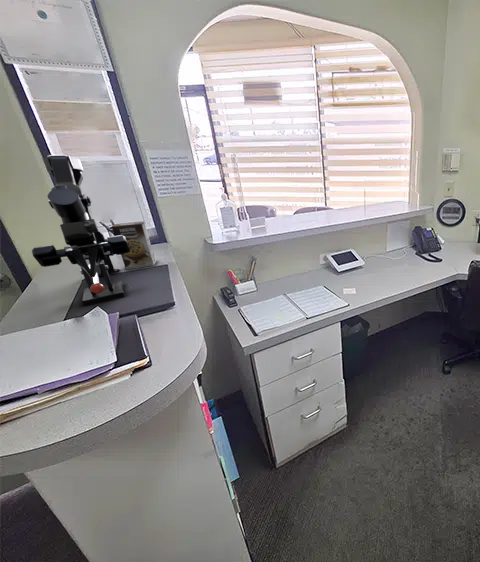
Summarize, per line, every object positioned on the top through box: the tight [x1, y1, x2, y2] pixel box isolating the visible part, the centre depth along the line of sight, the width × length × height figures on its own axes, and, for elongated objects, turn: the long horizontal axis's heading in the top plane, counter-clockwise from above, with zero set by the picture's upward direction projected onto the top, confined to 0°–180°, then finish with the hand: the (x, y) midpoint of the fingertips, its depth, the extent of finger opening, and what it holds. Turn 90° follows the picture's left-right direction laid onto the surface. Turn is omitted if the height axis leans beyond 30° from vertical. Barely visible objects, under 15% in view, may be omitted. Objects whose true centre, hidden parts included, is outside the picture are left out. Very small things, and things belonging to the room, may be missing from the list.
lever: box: [88, 264, 104, 294], centre depth 86 cm, size 14×3×3 cm, turn 40°
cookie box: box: [111, 221, 157, 270], centre depth 116 cm, size 9×6×16 cm
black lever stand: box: [79, 260, 125, 306], centre depth 91 cm, size 12×9×10 cm
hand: (92, 276), depth 81 cm, fingers closed
